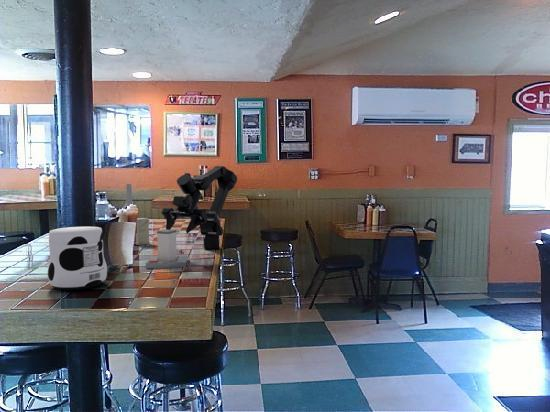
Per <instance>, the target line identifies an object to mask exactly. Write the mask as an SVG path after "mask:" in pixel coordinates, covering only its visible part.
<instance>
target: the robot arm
mask: <svg viewBox="0 0 550 412" xmlns="http://www.w3.org/2000/svg"><path fill="white" fill-rule="evenodd" d="M215 181H217V182H216V183H217V185H218V188H217V191H216V194H215V196H214V198H213V202H212V203H211V207H210V209H209V211H208V212H206V211H205V210H204V208H201V209H200V208H199V207H198V205H199V202H200V201H203V200H204V196H203V193H202V192H201V191H204V192H206V191H207V190H208V189H209V188H210V187H211V183H213V182H215ZM237 182H238V177H237V175H236V174H235V172H233V171H232V170H230V169H228V168H227V167H226V166H223V165H221V166H219V165H216V166H214V167H212V169H210V170H208V171H207V172H205V173H204V174H201V175H195V176H192V175H191V174H190V172H184V174H183V175H181V176H179V177H178V178H177V179H176V184H177V185H178V187H179V188H180V190H181V192H182V193H183V194H185V196H184V195H183V196H181V195H174V196H173V198H172V205H174V206H175V207H176V211H175V210H174V209H173V208H172V207H171V208H170V207H164V208H163V209H162V210H161V213H160V214H162V215H163V217H164V219H165V220H166V221H165V222H166V223H165V225H166V226H165V229H167V230H172V228H173V226H174V225H175V224H176V221H177V219H178V218H185V219H190V221H189V223H188V225H187V227H186V230H185V232H186V234H190V232H191V231H193V230H194V229H196V228H197V227H199V230H200V234H201V236H204V238H203V248H204V250H205V251H207V250H208V251H209V250H212V251H213V250H220V249H221V245H220V237H221V236H223V235H224V228H223V226H222V225H221V218H220V216H221V213H222V210H223V207H224V204H225V202H226V200H227V197H228V194H229V192H230V191H231V190H233V189H234V188H235V186H236V184H237Z"/></svg>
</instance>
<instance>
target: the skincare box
mask: <svg viewBox="0 0 550 412" xmlns="http://www.w3.org/2000/svg"><path fill="white" fill-rule="evenodd" d="M149 223H150V222H149V218H146V217H137V233H136V243H135V244H136V246H140V245H141V246H142V245H147V244H149V245H150V227H149V225H150V224H149ZM135 244H134V245H135Z"/></svg>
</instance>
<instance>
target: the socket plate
mask: <svg viewBox="0 0 550 412" xmlns="http://www.w3.org/2000/svg"><path fill="white" fill-rule="evenodd" d="M188 256H189V255H188V254H177V261H158V255H151V256H150V257H149V258H148V260H147V261H146V262H145V269H146V270H147V269H176V268H180V269H181V268H185V267H186V265H187V263H188V261H189V257H188Z"/></svg>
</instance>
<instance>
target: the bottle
mask: <svg viewBox="0 0 550 412" xmlns="http://www.w3.org/2000/svg"><path fill="white" fill-rule="evenodd" d="M125 184H126V186H125V188H126V201H125V202H126V203H125V204H124V205H123V208H122V210H123V209H124V208H126V207H127V206H129V205H130V204H133V205H135V204H134V202H133V195H132V194H133V193H132V189H133V188H132V183H125Z"/></svg>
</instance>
